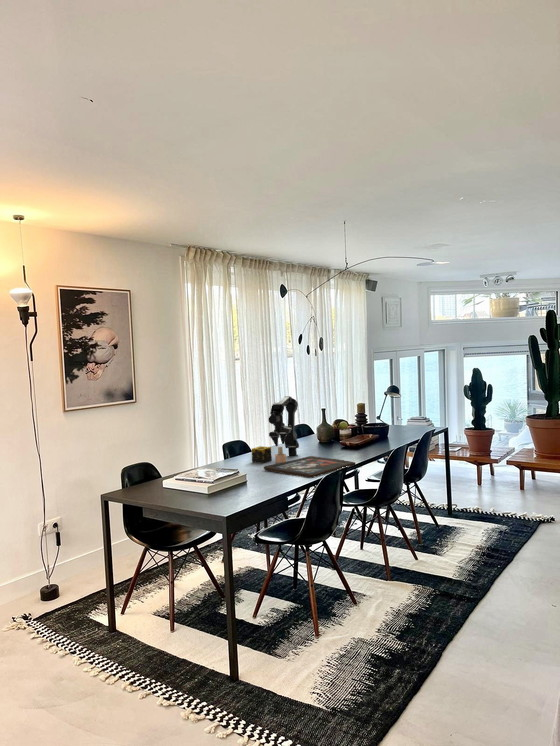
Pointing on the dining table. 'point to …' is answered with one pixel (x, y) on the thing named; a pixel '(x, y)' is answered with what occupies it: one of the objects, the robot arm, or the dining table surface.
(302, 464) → the religious icon
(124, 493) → the dining table surface
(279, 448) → the birch pin
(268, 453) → the candle
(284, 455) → the terracotta cup
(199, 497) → the dining table surface
